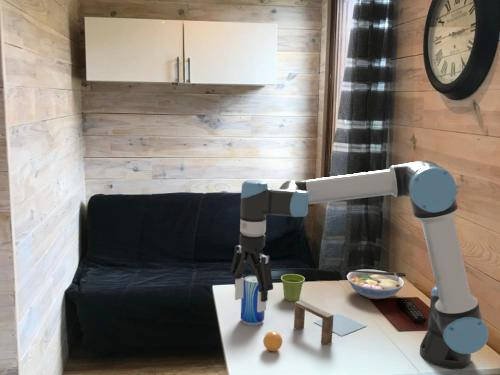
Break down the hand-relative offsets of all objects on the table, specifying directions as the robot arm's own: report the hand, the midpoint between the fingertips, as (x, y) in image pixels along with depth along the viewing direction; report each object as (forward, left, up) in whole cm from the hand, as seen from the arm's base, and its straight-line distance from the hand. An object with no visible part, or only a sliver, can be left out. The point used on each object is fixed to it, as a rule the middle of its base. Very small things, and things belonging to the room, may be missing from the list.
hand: (249, 304), depth 157 cm
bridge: (0, -28, -18) cm, 33 cm away
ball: (0, -10, -15) cm, 18 cm away
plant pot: (+27, -44, -18) cm, 55 cm away
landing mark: (0, -42, -18) cm, 46 cm away
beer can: (+20, -18, -18) cm, 32 cm away
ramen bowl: (+10, -74, -18) cm, 77 cm away
